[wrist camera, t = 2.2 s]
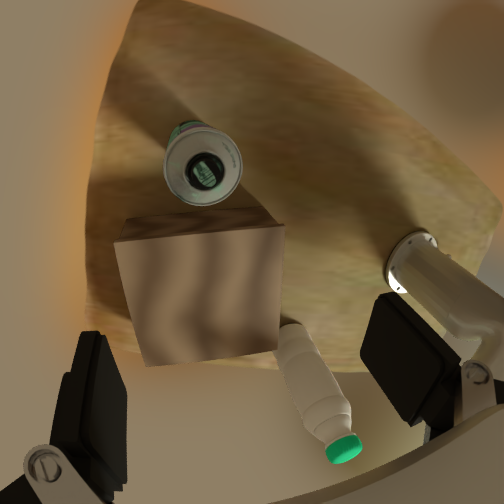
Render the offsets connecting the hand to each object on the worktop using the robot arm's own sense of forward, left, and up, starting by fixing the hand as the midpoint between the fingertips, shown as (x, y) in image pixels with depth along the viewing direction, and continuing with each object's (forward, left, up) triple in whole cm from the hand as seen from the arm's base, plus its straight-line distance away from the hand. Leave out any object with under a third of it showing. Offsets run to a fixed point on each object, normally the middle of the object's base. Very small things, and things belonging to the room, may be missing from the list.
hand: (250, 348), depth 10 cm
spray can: (0, -3, -31) cm, 31 cm away
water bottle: (-14, +30, -31) cm, 45 cm away
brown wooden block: (0, +15, -31) cm, 34 cm away
